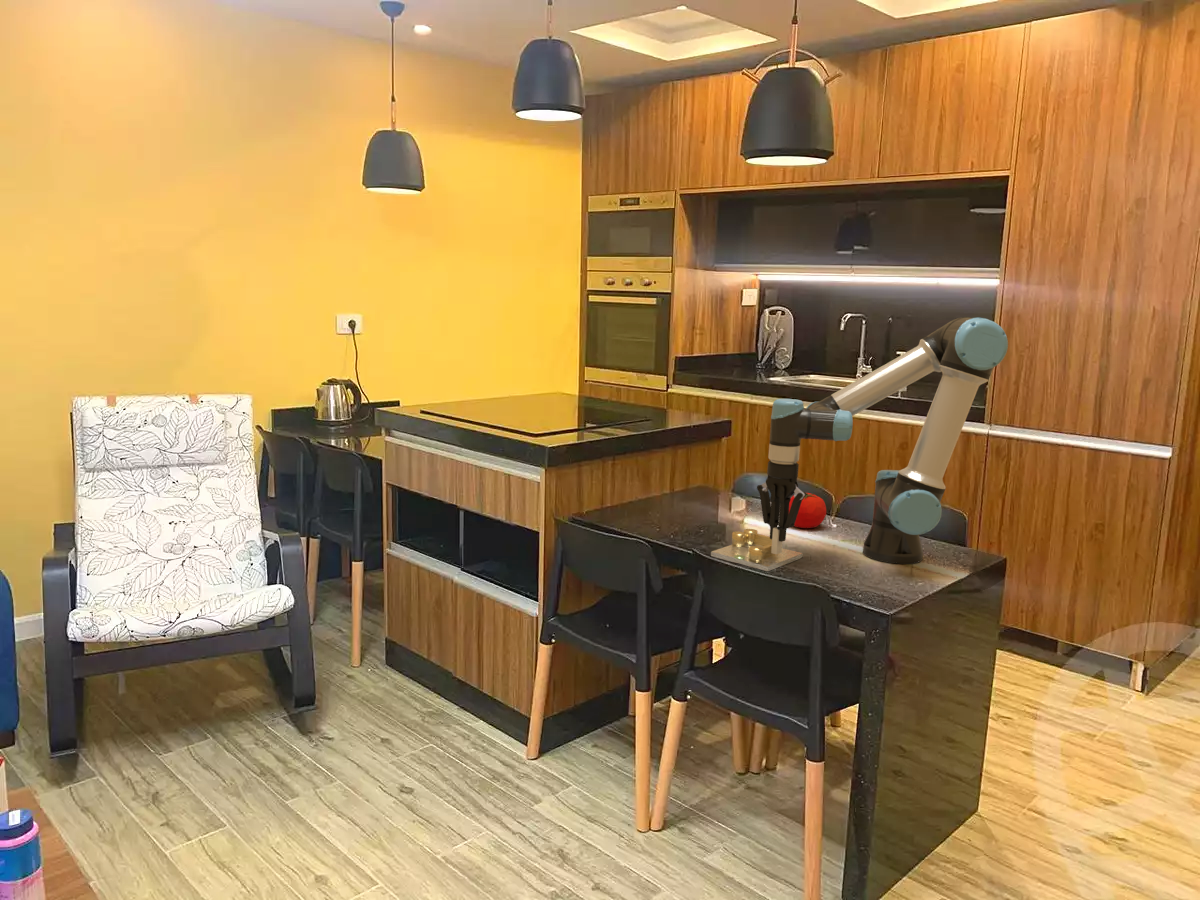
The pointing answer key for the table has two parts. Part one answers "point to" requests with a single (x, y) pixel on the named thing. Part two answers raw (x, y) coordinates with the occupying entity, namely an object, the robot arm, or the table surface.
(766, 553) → the gold piece
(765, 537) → the gold block
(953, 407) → the robot arm
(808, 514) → the tomato
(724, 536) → the table surface
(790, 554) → the plate
